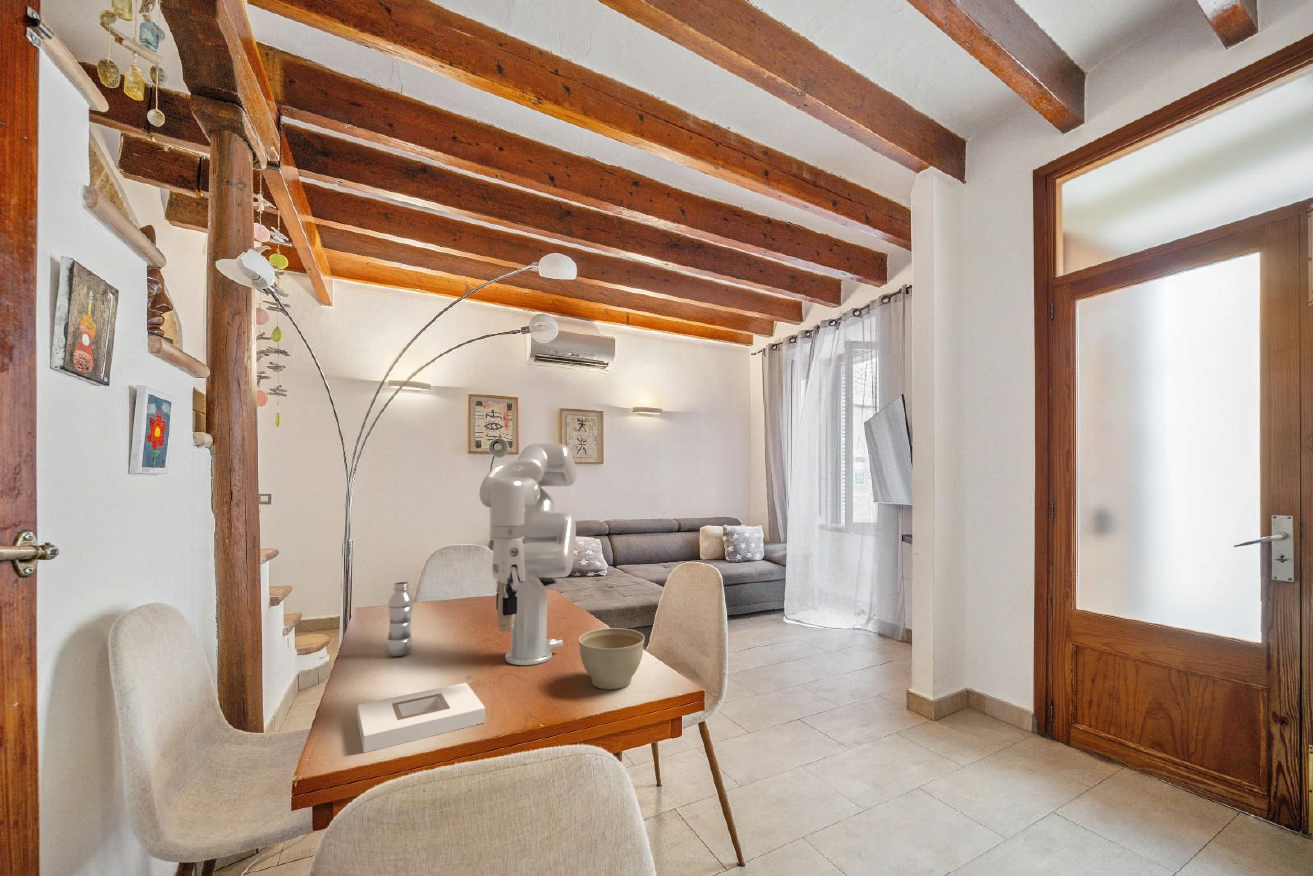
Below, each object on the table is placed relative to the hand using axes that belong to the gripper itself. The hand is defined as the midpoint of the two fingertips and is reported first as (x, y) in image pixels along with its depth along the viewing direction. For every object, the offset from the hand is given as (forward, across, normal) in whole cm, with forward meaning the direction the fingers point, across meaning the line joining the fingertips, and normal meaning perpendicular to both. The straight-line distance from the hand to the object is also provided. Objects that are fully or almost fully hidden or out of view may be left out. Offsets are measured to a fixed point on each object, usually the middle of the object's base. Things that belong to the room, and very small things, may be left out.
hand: (506, 611), depth 124 cm
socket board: (+19, -3, +19) cm, 27 cm away
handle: (+5, 0, 0) cm, 5 cm away
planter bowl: (+20, -6, -24) cm, 32 cm away
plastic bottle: (+20, +44, +17) cm, 51 cm away
